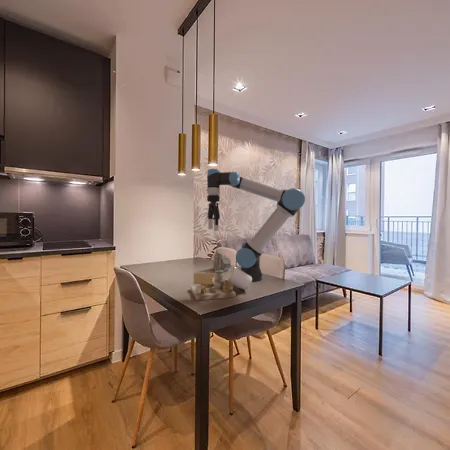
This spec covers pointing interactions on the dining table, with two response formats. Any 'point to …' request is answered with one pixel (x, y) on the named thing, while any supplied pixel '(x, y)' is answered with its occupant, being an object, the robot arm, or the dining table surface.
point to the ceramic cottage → (221, 262)
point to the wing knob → (203, 280)
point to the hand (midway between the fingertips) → (213, 230)
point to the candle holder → (238, 278)
